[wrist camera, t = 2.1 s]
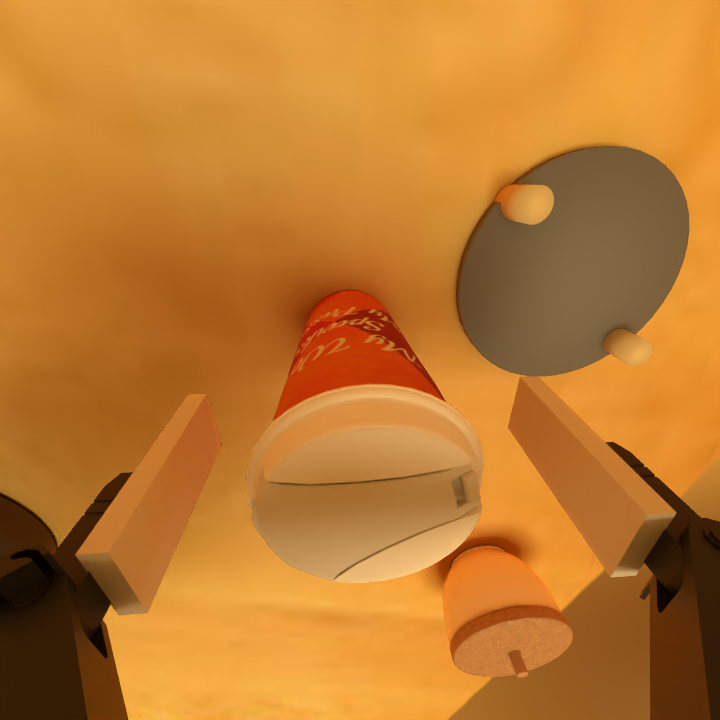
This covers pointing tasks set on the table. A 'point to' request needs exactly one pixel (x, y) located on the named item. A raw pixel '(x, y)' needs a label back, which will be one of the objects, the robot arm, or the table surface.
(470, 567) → the lidded jar
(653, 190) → the pad
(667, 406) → the table surface
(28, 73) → the table surface
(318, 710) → the table surface
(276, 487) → the paper cup
